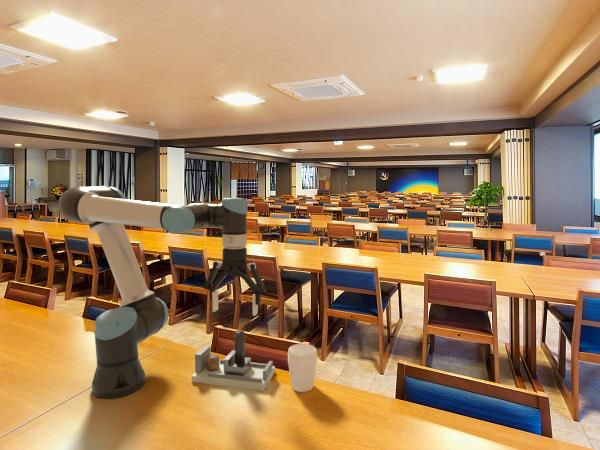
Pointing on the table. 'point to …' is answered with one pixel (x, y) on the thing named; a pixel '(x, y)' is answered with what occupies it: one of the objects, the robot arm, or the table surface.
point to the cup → (302, 366)
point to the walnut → (213, 362)
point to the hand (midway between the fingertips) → (235, 312)
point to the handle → (237, 357)
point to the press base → (252, 379)
